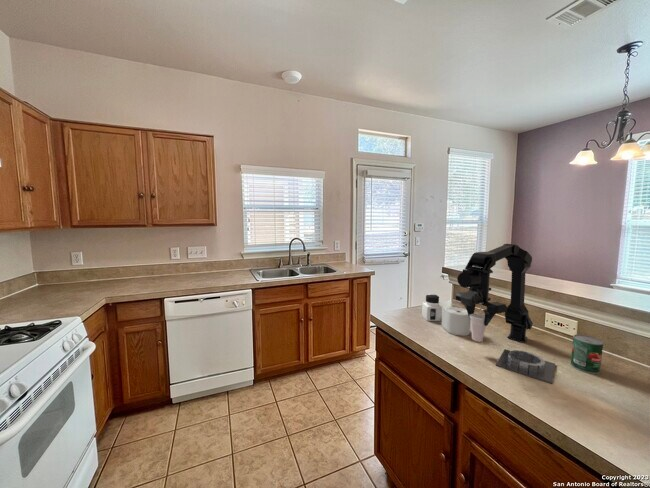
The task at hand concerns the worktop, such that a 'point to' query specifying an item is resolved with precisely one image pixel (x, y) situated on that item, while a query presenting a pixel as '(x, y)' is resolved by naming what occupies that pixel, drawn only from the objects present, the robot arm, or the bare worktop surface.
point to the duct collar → (527, 365)
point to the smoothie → (477, 326)
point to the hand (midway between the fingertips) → (478, 322)
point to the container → (432, 308)
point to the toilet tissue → (456, 321)
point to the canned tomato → (586, 354)
